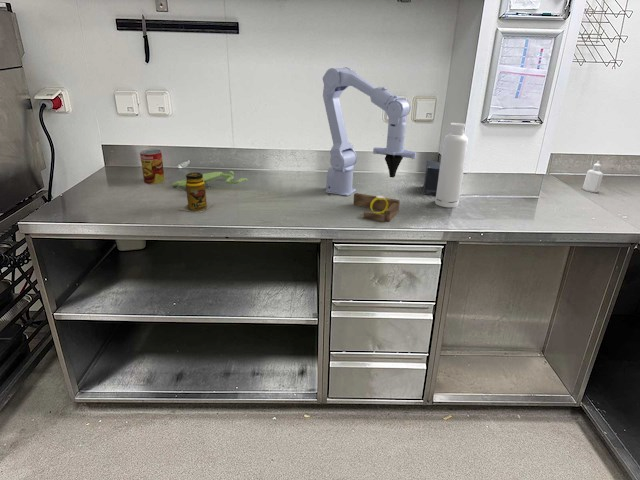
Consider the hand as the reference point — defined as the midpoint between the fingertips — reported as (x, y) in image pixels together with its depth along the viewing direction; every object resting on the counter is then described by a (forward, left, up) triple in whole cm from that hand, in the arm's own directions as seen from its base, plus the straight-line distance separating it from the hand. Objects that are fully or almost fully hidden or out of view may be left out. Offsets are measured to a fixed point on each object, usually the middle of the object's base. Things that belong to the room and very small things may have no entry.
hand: (392, 176), depth 152 cm
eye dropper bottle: (+66, +53, -10) cm, 85 cm away
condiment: (-57, -36, -10) cm, 68 cm away
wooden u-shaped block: (-3, -12, -10) cm, 16 cm away
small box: (+10, +22, -10) cm, 26 cm away
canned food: (-91, -20, -10) cm, 94 cm away
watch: (-1, -11, -10) cm, 15 cm away
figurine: (-67, -15, -11) cm, 69 cm away
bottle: (+18, +10, -10) cm, 23 cm away
